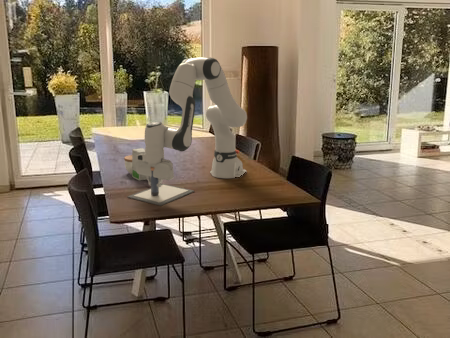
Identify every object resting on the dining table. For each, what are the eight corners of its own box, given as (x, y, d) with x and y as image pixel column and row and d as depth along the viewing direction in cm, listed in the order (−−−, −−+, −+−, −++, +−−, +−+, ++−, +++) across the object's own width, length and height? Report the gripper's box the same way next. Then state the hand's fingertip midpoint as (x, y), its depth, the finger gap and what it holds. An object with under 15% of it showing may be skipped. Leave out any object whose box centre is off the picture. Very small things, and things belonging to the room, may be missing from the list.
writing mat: (162, 184, 241) (162, 183, 240) (194, 191, 231) (194, 190, 230) (127, 197, 219) (127, 195, 219) (160, 205, 209) (160, 203, 209)
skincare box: (131, 177, 253) (131, 149, 249) (142, 175, 257) (142, 147, 253) (139, 180, 246) (139, 152, 242) (150, 178, 251) (150, 150, 247)
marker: (154, 192, 223) (154, 165, 219) (160, 194, 221) (160, 166, 217) (149, 194, 220) (148, 166, 216) (155, 196, 218) (155, 168, 214)
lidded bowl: (142, 176, 254) (142, 157, 251) (120, 175, 256) (120, 155, 253) (150, 171, 266) (150, 152, 263) (130, 169, 268) (129, 150, 265)
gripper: (176, 159, 213) (176, 188, 217) (142, 153, 223) (143, 180, 227) (168, 161, 208) (168, 191, 211) (133, 155, 218) (134, 183, 222)
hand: (154, 185), depth 219 cm, fingers closed on marker, 3 cm apart
